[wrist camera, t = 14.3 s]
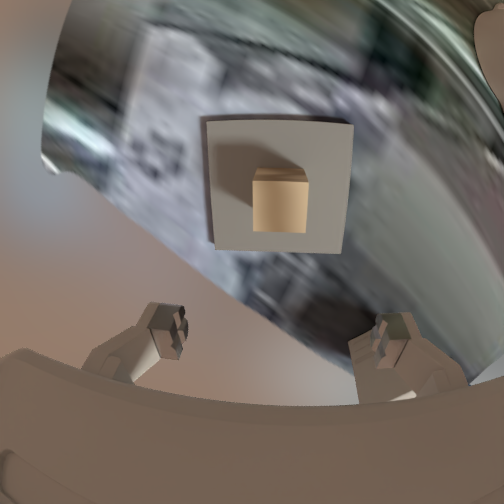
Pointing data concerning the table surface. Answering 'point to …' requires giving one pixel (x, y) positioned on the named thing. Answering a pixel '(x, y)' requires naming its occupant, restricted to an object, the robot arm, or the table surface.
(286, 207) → the birch block
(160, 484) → the robot arm
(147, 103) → the table surface
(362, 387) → the supplement box
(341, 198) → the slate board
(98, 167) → the table surface
